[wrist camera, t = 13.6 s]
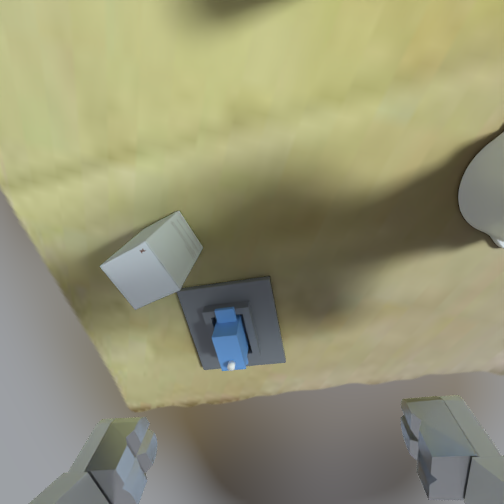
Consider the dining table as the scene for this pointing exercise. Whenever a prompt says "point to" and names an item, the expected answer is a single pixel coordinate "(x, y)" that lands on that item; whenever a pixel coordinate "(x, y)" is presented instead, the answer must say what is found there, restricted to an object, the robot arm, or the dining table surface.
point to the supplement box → (154, 261)
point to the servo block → (230, 339)
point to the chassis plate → (244, 302)
